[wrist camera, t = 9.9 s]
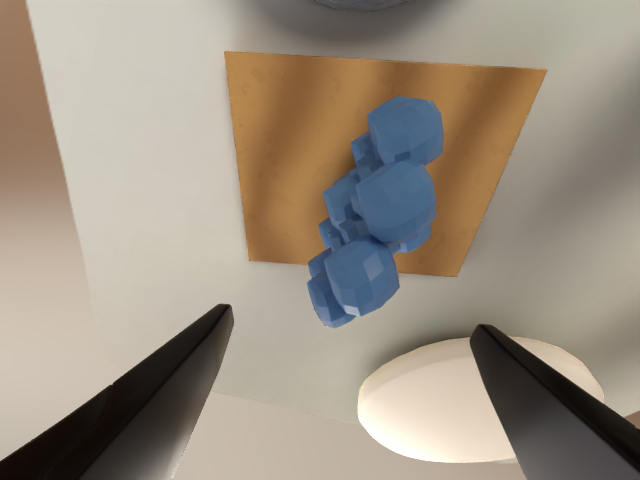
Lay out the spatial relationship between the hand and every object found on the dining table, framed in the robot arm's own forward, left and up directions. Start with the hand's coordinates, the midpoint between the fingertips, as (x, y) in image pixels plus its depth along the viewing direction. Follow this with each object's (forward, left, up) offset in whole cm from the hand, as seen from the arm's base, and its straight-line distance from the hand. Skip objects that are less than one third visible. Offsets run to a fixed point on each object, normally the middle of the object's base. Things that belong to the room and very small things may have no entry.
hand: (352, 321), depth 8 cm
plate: (-18, +25, -13) cm, 34 cm away
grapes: (-2, -2, -12) cm, 12 cm away
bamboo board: (-1, -2, -13) cm, 13 cm away
